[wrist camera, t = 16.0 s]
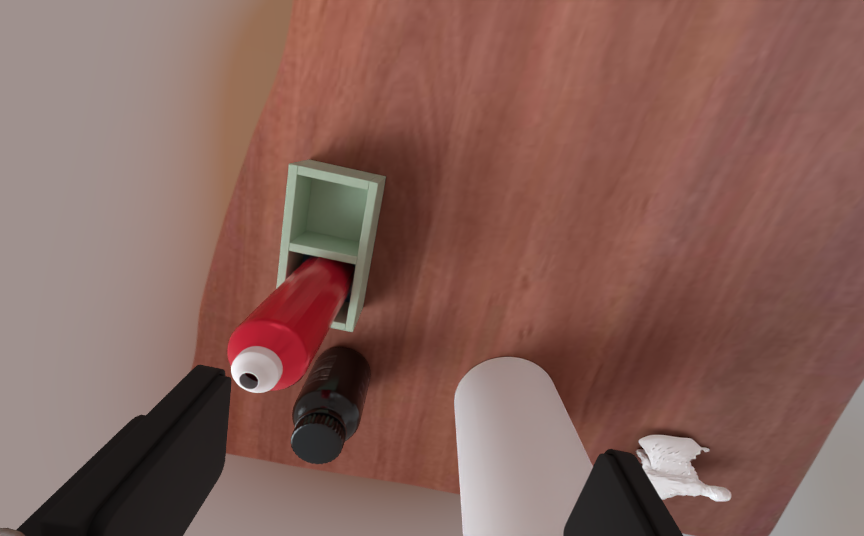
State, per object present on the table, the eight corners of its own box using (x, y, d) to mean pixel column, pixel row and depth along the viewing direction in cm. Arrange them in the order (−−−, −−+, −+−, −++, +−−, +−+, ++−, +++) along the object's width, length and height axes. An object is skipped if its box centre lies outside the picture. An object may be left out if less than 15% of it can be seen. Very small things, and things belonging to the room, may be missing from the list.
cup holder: (293, 294, 45) (273, 316, 39) (308, 159, 40) (288, 163, 35) (362, 308, 45) (352, 332, 40) (386, 176, 41) (378, 183, 35)
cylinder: (571, 419, 50) (694, 677, 26) (481, 456, 52) (519, 727, 28) (531, 340, 46) (632, 554, 23) (436, 382, 48) (437, 621, 25)
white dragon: (569, 481, 53) (580, 509, 49) (594, 419, 50) (608, 443, 46) (698, 503, 54) (718, 531, 50) (730, 443, 51) (755, 469, 47)
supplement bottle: (314, 391, 49) (277, 469, 38) (315, 341, 47) (277, 408, 35) (370, 397, 49) (350, 477, 38) (374, 348, 47) (354, 417, 36)
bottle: (334, 237, 42) (250, 323, 23) (366, 277, 43) (313, 390, 24) (295, 265, 43) (183, 371, 24) (327, 304, 44) (247, 432, 25)
